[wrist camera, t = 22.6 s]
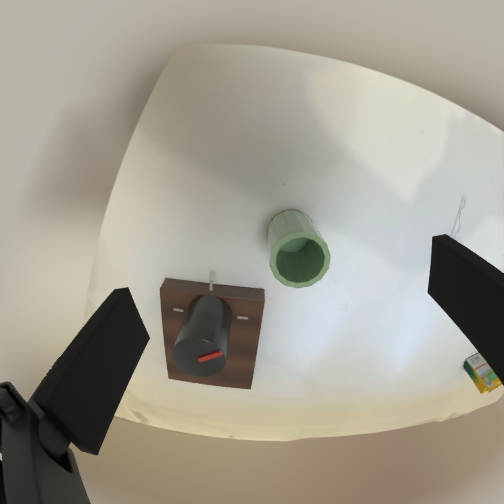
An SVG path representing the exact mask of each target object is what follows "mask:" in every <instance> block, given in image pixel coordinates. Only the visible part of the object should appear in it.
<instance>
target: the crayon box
mask: <svg viewBox="0 0 504 504" xmlns="http://www.w3.org/2000/svg"><path fill="white" fill-rule="evenodd" d="M464 369H465V370H466V371H467V373H468V375H469V376H470V377H471V379H472V380H473V382H474V383H475V385H476V386H477V388H478V390H479V391H480V393H481V394H483V393H484V392H486V391H489V392H491V391H492V390H494V389H495V388H497V387H499V386H500V385H502V382H501V381H500V380H499V378H498V377H497V375H496V374H495V373H494V371H493V370H492V369H491V367H490V366H489V365H488V363H487V362H486V361H485V359H484V358H483V357H482V356H481V354H480V353H477V354H475V355H473V356H472V357H470V358H467V359H466V361H465V364H464ZM500 382H501V383H500ZM499 383H500V384H499ZM497 384H498V385H497Z"/></svg>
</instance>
